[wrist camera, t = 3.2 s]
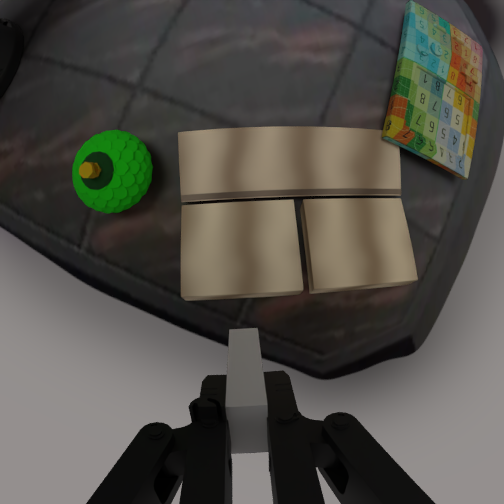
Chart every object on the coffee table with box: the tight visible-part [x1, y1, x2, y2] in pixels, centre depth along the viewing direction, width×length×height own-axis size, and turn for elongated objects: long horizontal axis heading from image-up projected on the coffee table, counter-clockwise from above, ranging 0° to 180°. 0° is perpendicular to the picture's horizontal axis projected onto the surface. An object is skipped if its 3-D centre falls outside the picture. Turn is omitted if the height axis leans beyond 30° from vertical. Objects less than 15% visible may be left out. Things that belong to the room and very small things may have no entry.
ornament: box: [72, 130, 153, 214], centre depth 27 cm, size 8×8×10 cm
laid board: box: [178, 127, 401, 202], centre depth 31 cm, size 23×7×2 cm, turn 93°
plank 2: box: [300, 198, 418, 294], centre depth 31 cm, size 11×9×2 cm
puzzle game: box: [382, 0, 482, 179], centre depth 28 cm, size 12×5×20 cm
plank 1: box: [181, 200, 303, 301], centre depth 31 cm, size 11×9×2 cm
